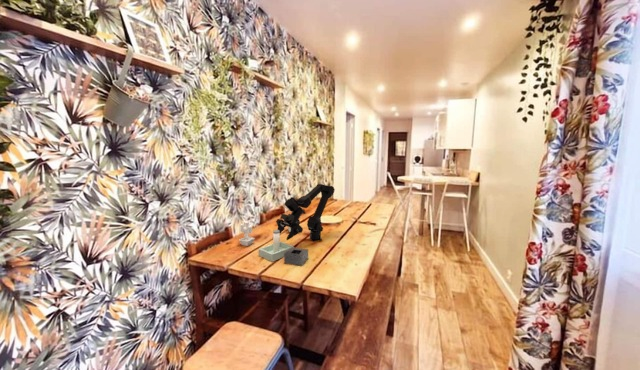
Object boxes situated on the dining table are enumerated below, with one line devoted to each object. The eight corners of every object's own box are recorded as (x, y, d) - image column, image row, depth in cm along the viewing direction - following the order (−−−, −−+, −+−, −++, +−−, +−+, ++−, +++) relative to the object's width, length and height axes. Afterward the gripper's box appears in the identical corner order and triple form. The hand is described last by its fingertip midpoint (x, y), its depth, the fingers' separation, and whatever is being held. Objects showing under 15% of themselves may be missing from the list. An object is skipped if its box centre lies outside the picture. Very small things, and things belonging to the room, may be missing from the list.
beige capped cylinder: (280, 251, 150) (279, 229, 148) (279, 253, 147) (279, 231, 145) (273, 251, 150) (273, 229, 148) (273, 253, 146) (272, 231, 144)
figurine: (256, 242, 166) (255, 220, 164) (246, 247, 157) (245, 224, 155) (247, 241, 169) (246, 218, 167) (237, 246, 160) (236, 222, 158)
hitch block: (291, 255, 146) (291, 247, 146) (308, 258, 144) (308, 249, 143) (284, 263, 137) (284, 254, 136) (301, 265, 134) (301, 256, 133)
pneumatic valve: (295, 234, 183) (295, 217, 181) (283, 231, 190) (283, 215, 188) (300, 232, 188) (300, 216, 186) (289, 229, 194) (288, 213, 193)
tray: (280, 247, 158) (280, 241, 158) (293, 252, 150) (293, 246, 150) (258, 255, 146) (258, 248, 146) (272, 261, 139) (271, 254, 138)
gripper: (277, 205, 158) (263, 227, 151) (299, 210, 145) (284, 234, 139) (287, 215, 165) (274, 236, 158) (308, 221, 152) (295, 244, 146)
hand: (281, 237), depth 150 cm, fingers open, 9 cm apart
